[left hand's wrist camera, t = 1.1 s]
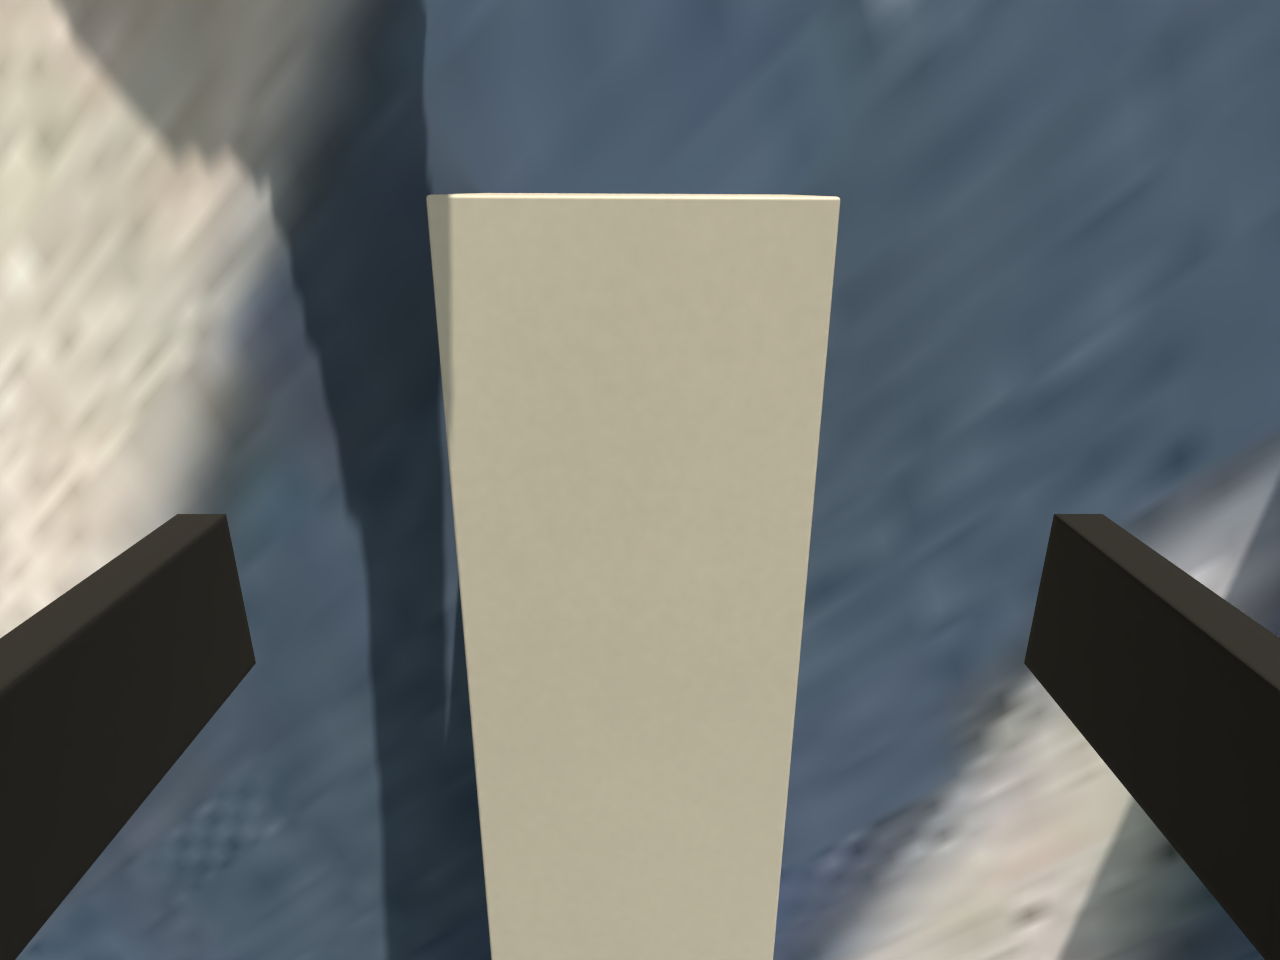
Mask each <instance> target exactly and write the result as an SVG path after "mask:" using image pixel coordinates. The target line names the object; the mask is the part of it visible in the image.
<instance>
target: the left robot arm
mask: <svg viewBox="0 0 1280 960" xmlns="http://www.w3.org/2000/svg"><path fill="white" fill-rule="evenodd" d="M255 663H256V662H255V657H254V652H253V647H252V642H251V637H250V632H249V627H248V622H247V617H246V612H245V607H244V602H243V597H242V592H241V587H240V582H239V577H238V572H237V567H236V562H235V557H234V552H233V547H232V542H231V537H230V532H229V527H228V522H227V517H226V514H177V515H176V516H174V517H173V518H171V519H170V520H169V521H167V522H166V523H164V524H163V525H161V526H160V527H159V528H157V529H156V530H154V531H153V532H152V533H150V534H149V535H147V536H146V537H144V538H143V539H142V540H140V541H139V542H137V543H136V544H134V545H133V546H132V547H130V548H129V549H127V550H126V551H124V552H123V553H122V554H120V555H119V556H117V557H116V558H114V559H113V560H112V561H110V562H109V563H107V564H106V565H104V566H103V567H102V568H100V569H99V570H97V571H96V572H95V573H93V574H92V575H90V576H89V577H87V578H86V579H85V580H83V581H82V582H80V583H79V584H77V585H76V586H75V587H73V588H72V589H70V590H69V591H67V592H66V593H65V594H63V595H62V596H60V597H59V598H57V599H56V600H55V601H53V602H52V603H50V604H49V605H47V606H46V607H45V608H43V609H42V610H40V611H39V612H38V613H36V614H35V615H33V616H32V617H30V618H29V619H28V620H26V621H25V622H23V623H22V624H20V625H19V626H18V627H16V628H15V629H13V630H12V631H10V632H9V633H8V634H6V635H5V636H3V637H2V638H0V960H15V959H16V958H17V957H18V955H19V954H20V953H21V952H22V950H23V949H24V948H25V947H26V946H27V944H28V943H29V942H30V941H31V939H32V938H33V937H34V936H35V934H36V933H37V932H38V931H39V929H40V928H41V927H42V926H43V925H44V923H45V922H46V921H47V920H48V918H49V917H50V916H51V915H52V913H53V912H54V911H55V910H56V909H57V907H58V906H59V905H60V904H61V902H62V901H63V900H64V899H65V897H66V896H67V895H68V894H69V893H70V891H71V890H72V889H73V888H74V886H75V885H76V884H77V883H78V881H79V880H80V879H81V878H82V877H83V875H84V874H85V873H86V872H87V870H88V869H89V868H90V867H91V865H92V864H93V863H94V862H95V860H96V859H97V858H98V857H99V856H100V854H101V853H102V852H103V851H104V849H105V848H106V847H107V846H108V844H109V843H110V842H111V841H112V840H113V838H114V837H115V836H116V835H117V833H118V832H119V831H120V830H121V828H122V827H123V826H124V825H125V824H126V822H127V821H128V820H129V819H130V817H131V816H132V815H133V814H134V812H135V811H136V810H137V809H138V808H139V806H140V805H141V804H142V803H143V801H144V800H145V799H146V798H147V796H148V795H149V794H150V793H151V792H152V790H153V789H154V788H155V787H156V785H157V784H158V783H159V782H160V780H161V779H162V778H163V777H164V775H165V774H166V773H167V772H168V771H169V769H170V768H171V767H172V766H173V764H174V763H175V762H176V761H177V759H178V758H179V757H180V756H181V755H182V753H183V752H184V751H185V750H186V748H187V747H188V746H189V745H190V743H191V742H192V741H193V740H194V739H195V737H196V736H197V735H198V734H199V732H200V731H201V730H202V729H203V727H204V726H205V725H206V724H207V723H208V721H209V720H210V719H211V718H212V716H213V715H214V714H215V713H216V711H217V710H218V709H219V708H220V707H221V705H222V704H223V703H224V702H225V700H226V699H227V698H228V697H229V695H230V694H231V693H232V692H233V690H234V689H235V688H236V687H237V686H238V684H239V683H240V682H241V681H242V679H243V678H244V677H245V676H246V674H247V673H248V672H249V671H250V670H251V668H252V667H253V666H254V665H255ZM1024 663H1025V665H1026V666H1027V667H1028V668H1029V670H1030V671H1031V672H1032V673H1033V674H1034V676H1035V677H1036V678H1037V679H1038V681H1039V682H1040V683H1041V684H1042V686H1043V687H1044V688H1045V689H1046V690H1047V692H1048V693H1049V694H1050V695H1051V697H1052V698H1053V699H1054V700H1055V702H1056V703H1057V704H1058V705H1059V707H1060V708H1061V709H1062V710H1063V711H1064V713H1065V714H1066V715H1067V716H1068V718H1069V719H1070V720H1071V721H1072V723H1073V724H1074V725H1075V726H1076V727H1077V729H1078V730H1079V731H1080V732H1081V734H1082V735H1083V736H1084V737H1085V739H1086V740H1087V741H1088V742H1089V743H1090V745H1091V746H1092V747H1093V748H1094V750H1095V751H1096V752H1097V753H1098V755H1099V756H1100V757H1101V758H1102V759H1103V761H1104V762H1105V763H1106V764H1107V766H1108V767H1109V768H1110V769H1111V771H1112V772H1113V773H1114V774H1115V775H1116V777H1117V778H1118V779H1119V780H1120V782H1121V783H1122V784H1123V785H1124V787H1125V788H1126V789H1127V790H1128V792H1129V793H1130V794H1131V795H1132V796H1133V798H1134V799H1135V800H1136V801H1137V803H1138V804H1139V805H1140V806H1141V808H1142V809H1143V810H1144V811H1145V812H1146V814H1147V815H1148V816H1149V817H1150V819H1151V820H1152V821H1153V822H1154V824H1155V825H1156V826H1157V827H1158V828H1159V830H1160V831H1161V832H1162V833H1163V835H1164V836H1165V837H1166V838H1167V840H1168V841H1169V842H1170V843H1171V844H1172V846H1173V847H1174V848H1175V849H1176V851H1177V852H1178V853H1179V854H1180V856H1181V857H1182V858H1183V859H1184V860H1185V862H1186V863H1187V864H1188V865H1189V867H1190V868H1191V869H1192V870H1193V872H1194V873H1195V874H1196V875H1197V877H1198V878H1199V879H1200V880H1201V881H1202V883H1203V884H1204V885H1205V886H1206V888H1207V889H1208V890H1209V891H1210V893H1211V894H1212V895H1213V896H1214V897H1215V899H1216V900H1217V901H1218V902H1219V904H1220V905H1221V906H1222V907H1223V909H1224V910H1225V911H1226V912H1227V913H1228V915H1229V916H1230V917H1231V918H1232V920H1233V921H1234V922H1235V923H1236V925H1237V926H1238V927H1239V928H1240V929H1241V931H1242V932H1243V933H1244V934H1245V936H1246V937H1247V938H1248V939H1249V941H1250V942H1251V943H1252V944H1253V946H1254V947H1255V948H1256V949H1257V950H1258V952H1259V953H1260V954H1261V955H1262V957H1263V958H1264V959H1265V960H1280V638H1278V637H1277V636H1275V635H1274V634H1272V633H1271V632H1270V631H1268V630H1267V629H1265V628H1264V627H1262V626H1261V625H1260V624H1258V623H1257V622H1255V621H1254V620H1252V619H1251V618H1250V617H1248V616H1247V615H1245V614H1244V613H1242V612H1241V611H1240V610H1238V609H1237V608H1235V607H1234V606H1233V605H1231V604H1230V603H1228V602H1227V601H1225V600H1224V599H1223V598H1221V597H1220V596H1218V595H1217V594H1215V593H1214V592H1213V591H1211V590H1210V589H1208V588H1207V587H1205V586H1204V585H1203V584H1201V583H1200V582H1198V581H1197V580H1195V579H1194V578H1193V577H1191V576H1190V575H1188V574H1187V573H1185V572H1184V571H1183V570H1181V569H1180V568H1178V567H1177V566H1176V565H1174V564H1173V563H1171V562H1170V561H1168V560H1167V559H1166V558H1164V557H1163V556H1161V555H1160V554H1158V553H1157V552H1156V551H1154V550H1153V549H1151V548H1150V547H1148V546H1147V545H1146V544H1144V543H1143V542H1141V541H1140V540H1138V539H1137V538H1136V537H1134V536H1133V535H1131V534H1130V533H1128V532H1127V531H1126V530H1124V529H1123V528H1121V527H1120V526H1119V525H1117V524H1116V523H1114V522H1113V521H1111V520H1110V519H1109V518H1107V517H1106V516H1104V515H1103V514H1054V517H1053V522H1052V527H1051V532H1050V537H1049V542H1048V547H1047V552H1046V557H1045V562H1044V567H1043V572H1042V577H1041V582H1040V587H1039V592H1038V597H1037V602H1036V607H1035V612H1034V617H1033V622H1032V627H1031V632H1030V637H1029V642H1028V647H1027V652H1026V657H1025V662H1024Z"/></svg>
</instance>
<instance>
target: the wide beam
mask: <svg viewBox="0 0 1280 960" xmlns="http://www.w3.org/2000/svg"><path fill="white" fill-rule="evenodd" d="M426 200H427V212H428V223H429V235H430V247H431V258H432V270H433V282H434V293H435V305H436V317H437V328H438V340H439V352H440V363H441V375H442V387H443V398H444V410H445V422H446V433H447V445H448V457H449V468H450V480H451V492H452V504H453V515H454V527H455V539H456V550H457V562H458V574H459V585H460V597H461V609H462V620H463V632H464V644H465V655H466V667H467V679H468V690H469V702H470V714H471V725H472V737H473V749H474V760H475V772H476V784H477V795H478V807H479V819H480V830H481V842H482V854H483V865H484V877H485V889H486V900H487V912H488V924H489V936H490V947H491V959H492V960H773V952H774V941H775V930H776V919H777V907H778V896H779V885H780V873H781V862H782V851H783V840H784V828H785V817H786V806H787V795H788V783H789V772H790V761H791V750H792V738H793V727H794V716H795V705H796V693H797V682H798V671H799V659H800V648H801V637H802V626H803V614H804V603H805V592H806V581H807V569H808V558H809V547H810V536H811V524H812V513H813V502H814V490H815V479H816V468H817V457H818V445H819V434H820V423H821V412H822V400H823V389H824V378H825V367H826V355H827V344H828V333H829V322H830V310H831V299H832V288H833V276H834V265H835V254H836V243H837V231H838V220H839V209H840V198H838V197H830V196H806V195H753V194H550V193H475V194H439V195H428V196H427V198H426Z"/></svg>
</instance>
